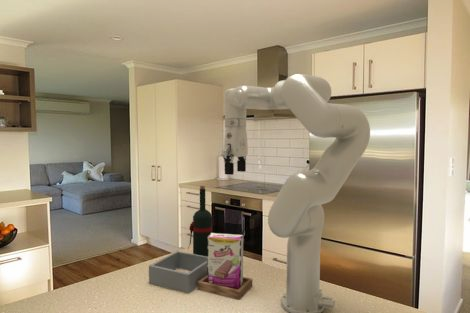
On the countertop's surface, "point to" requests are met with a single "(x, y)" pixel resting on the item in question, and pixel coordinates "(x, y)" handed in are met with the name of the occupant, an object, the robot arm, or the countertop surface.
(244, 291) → the walnut tray
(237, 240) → the candy bar box
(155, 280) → the deep bin
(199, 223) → the wine bottle
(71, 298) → the countertop surface
